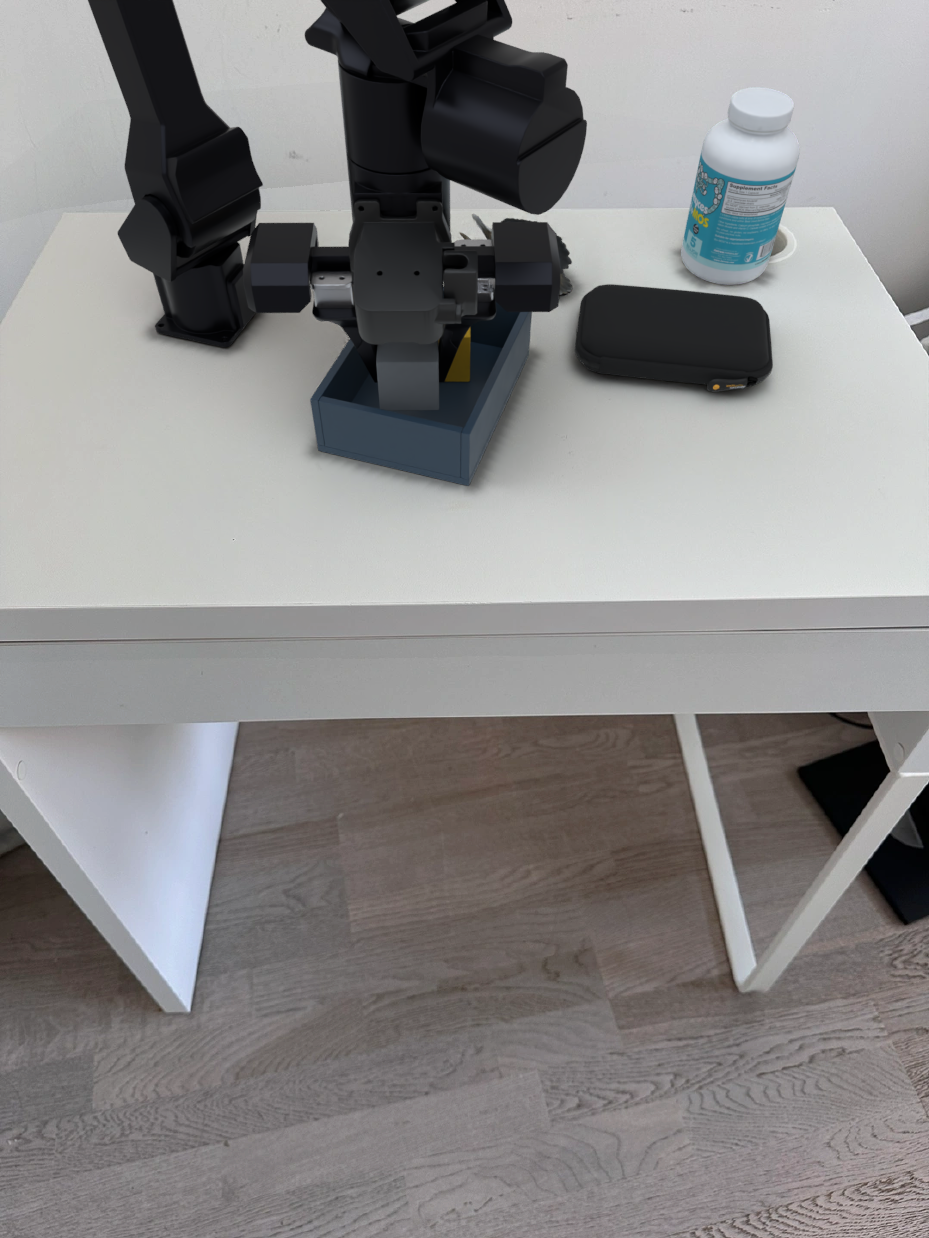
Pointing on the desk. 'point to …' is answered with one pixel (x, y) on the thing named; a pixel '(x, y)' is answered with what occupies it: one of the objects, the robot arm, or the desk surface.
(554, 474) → the desk surface
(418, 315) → the robot arm
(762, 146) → the pill bottle
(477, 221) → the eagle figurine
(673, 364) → the carrying case
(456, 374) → the mustard yellow block
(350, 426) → the dark blue open box
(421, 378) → the slate grey cube
